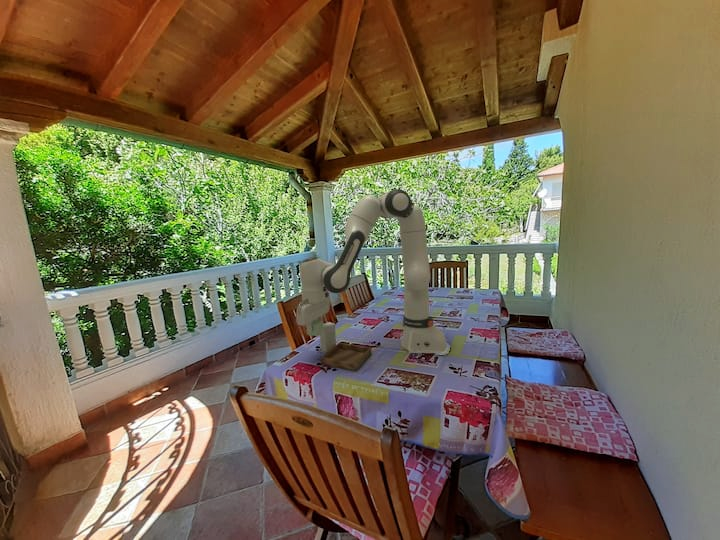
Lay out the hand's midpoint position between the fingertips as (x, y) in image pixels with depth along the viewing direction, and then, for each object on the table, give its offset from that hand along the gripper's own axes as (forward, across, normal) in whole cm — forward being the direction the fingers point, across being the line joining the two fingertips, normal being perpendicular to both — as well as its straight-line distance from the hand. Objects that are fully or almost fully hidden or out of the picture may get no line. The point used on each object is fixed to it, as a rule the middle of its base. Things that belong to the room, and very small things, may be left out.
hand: (315, 328), depth 122 cm
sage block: (+2, 0, 0) cm, 2 cm away
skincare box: (+14, +10, 0) cm, 17 cm away
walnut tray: (+14, +4, -12) cm, 19 cm away
